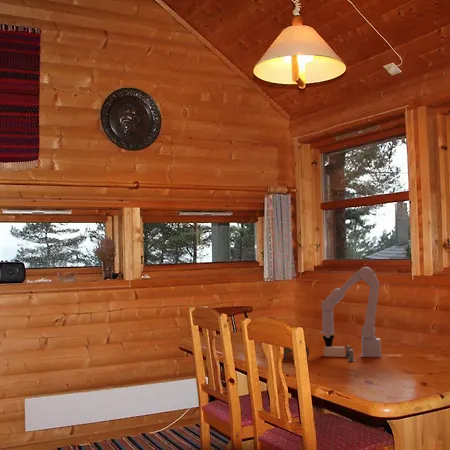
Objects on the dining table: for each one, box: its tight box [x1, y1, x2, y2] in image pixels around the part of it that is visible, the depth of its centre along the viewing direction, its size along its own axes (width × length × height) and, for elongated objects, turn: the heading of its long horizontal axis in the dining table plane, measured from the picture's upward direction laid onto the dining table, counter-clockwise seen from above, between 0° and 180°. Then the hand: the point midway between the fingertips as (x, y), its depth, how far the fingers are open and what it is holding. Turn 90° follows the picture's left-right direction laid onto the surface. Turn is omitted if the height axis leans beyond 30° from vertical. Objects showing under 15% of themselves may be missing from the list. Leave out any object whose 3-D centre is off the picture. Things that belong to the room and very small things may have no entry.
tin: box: [282, 345, 310, 361], centre depth 302 cm, size 15×3×8 cm, turn 62°
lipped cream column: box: [323, 345, 346, 358], centre depth 309 cm, size 10×2×5 cm, turn 75°
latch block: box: [347, 348, 356, 363], centre depth 297 cm, size 3×5×5 cm, turn 165°
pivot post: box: [344, 344, 352, 359], centre depth 307 cm, size 4×4×6 cm
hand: (328, 350), depth 315 cm, fingers closed
